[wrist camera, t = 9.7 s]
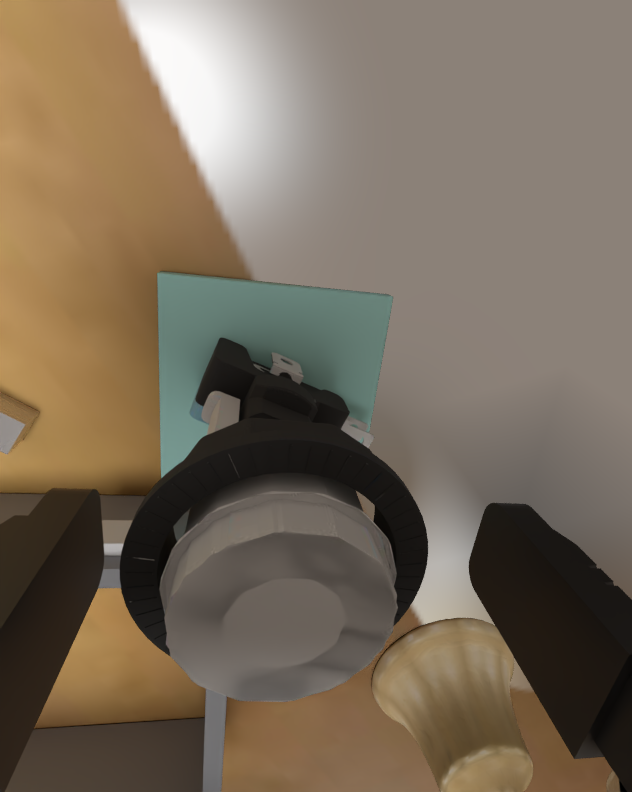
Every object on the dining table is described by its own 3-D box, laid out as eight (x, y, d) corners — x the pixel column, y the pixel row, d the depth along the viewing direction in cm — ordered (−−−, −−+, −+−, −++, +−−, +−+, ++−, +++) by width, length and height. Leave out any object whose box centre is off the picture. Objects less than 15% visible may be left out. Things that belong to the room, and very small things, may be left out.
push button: (392, 370, 16) (578, 564, 7) (329, 481, 18) (410, 764, 8) (227, 292, 14) (176, 417, 5) (171, 424, 16) (53, 708, 6)
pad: (388, 294, 16) (393, 296, 15) (356, 480, 18) (359, 488, 18) (161, 271, 14) (157, 272, 14) (164, 475, 17) (161, 483, 16)
